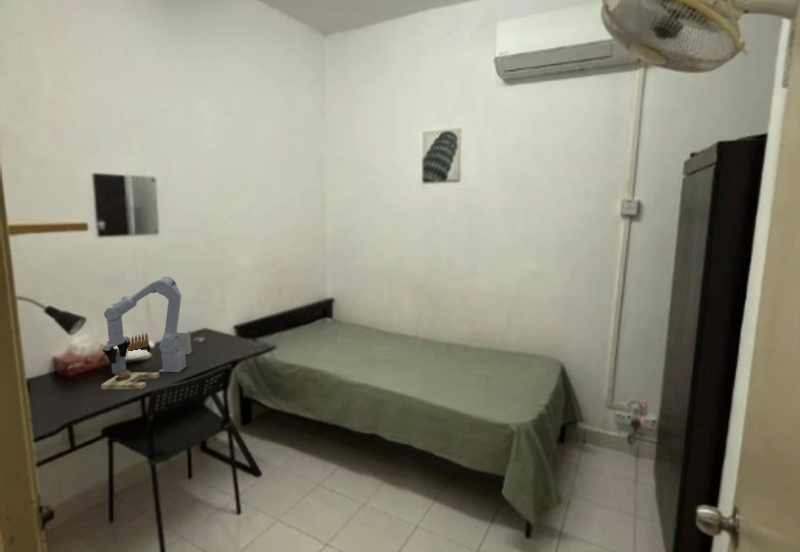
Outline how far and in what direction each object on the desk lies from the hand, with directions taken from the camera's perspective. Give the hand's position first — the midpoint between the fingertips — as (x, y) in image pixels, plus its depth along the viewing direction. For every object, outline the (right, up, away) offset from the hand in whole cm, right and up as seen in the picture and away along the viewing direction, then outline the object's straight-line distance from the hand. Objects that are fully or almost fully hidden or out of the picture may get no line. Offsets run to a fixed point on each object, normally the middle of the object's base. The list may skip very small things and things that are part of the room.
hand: (118, 360), depth 200 cm
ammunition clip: (-3, -3, +21) cm, 21 cm away
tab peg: (0, -6, +1) cm, 6 cm away
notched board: (+13, -8, -11) cm, 18 cm away
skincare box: (+17, -2, +27) cm, 32 cm away
